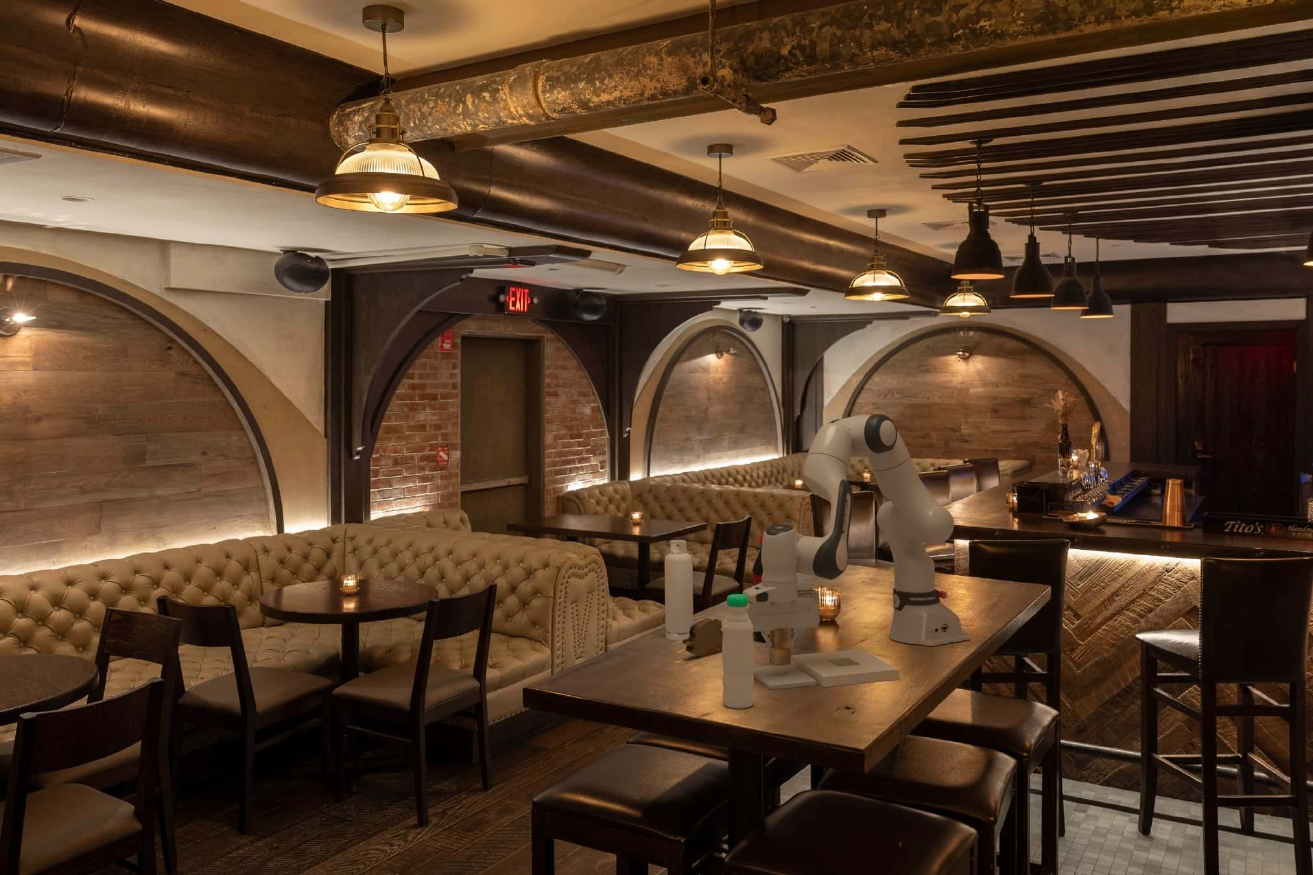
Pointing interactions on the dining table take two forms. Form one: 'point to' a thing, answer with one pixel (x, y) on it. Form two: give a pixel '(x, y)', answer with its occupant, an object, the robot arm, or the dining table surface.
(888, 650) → the dining table surface
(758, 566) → the cola bottle
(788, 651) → the oak block
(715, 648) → the wooden carving
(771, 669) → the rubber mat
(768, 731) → the dining table surface
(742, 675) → the water bottle
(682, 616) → the bottle
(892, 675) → the beige board with hole
